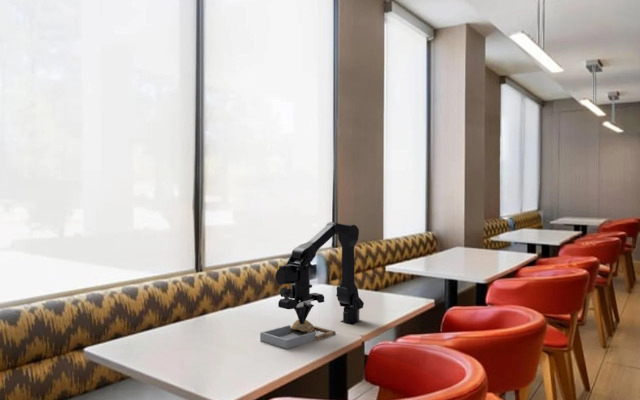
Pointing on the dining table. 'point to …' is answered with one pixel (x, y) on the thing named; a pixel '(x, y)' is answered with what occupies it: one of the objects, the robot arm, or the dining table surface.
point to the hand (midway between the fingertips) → (301, 324)
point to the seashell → (303, 326)
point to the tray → (285, 337)
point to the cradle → (326, 331)
